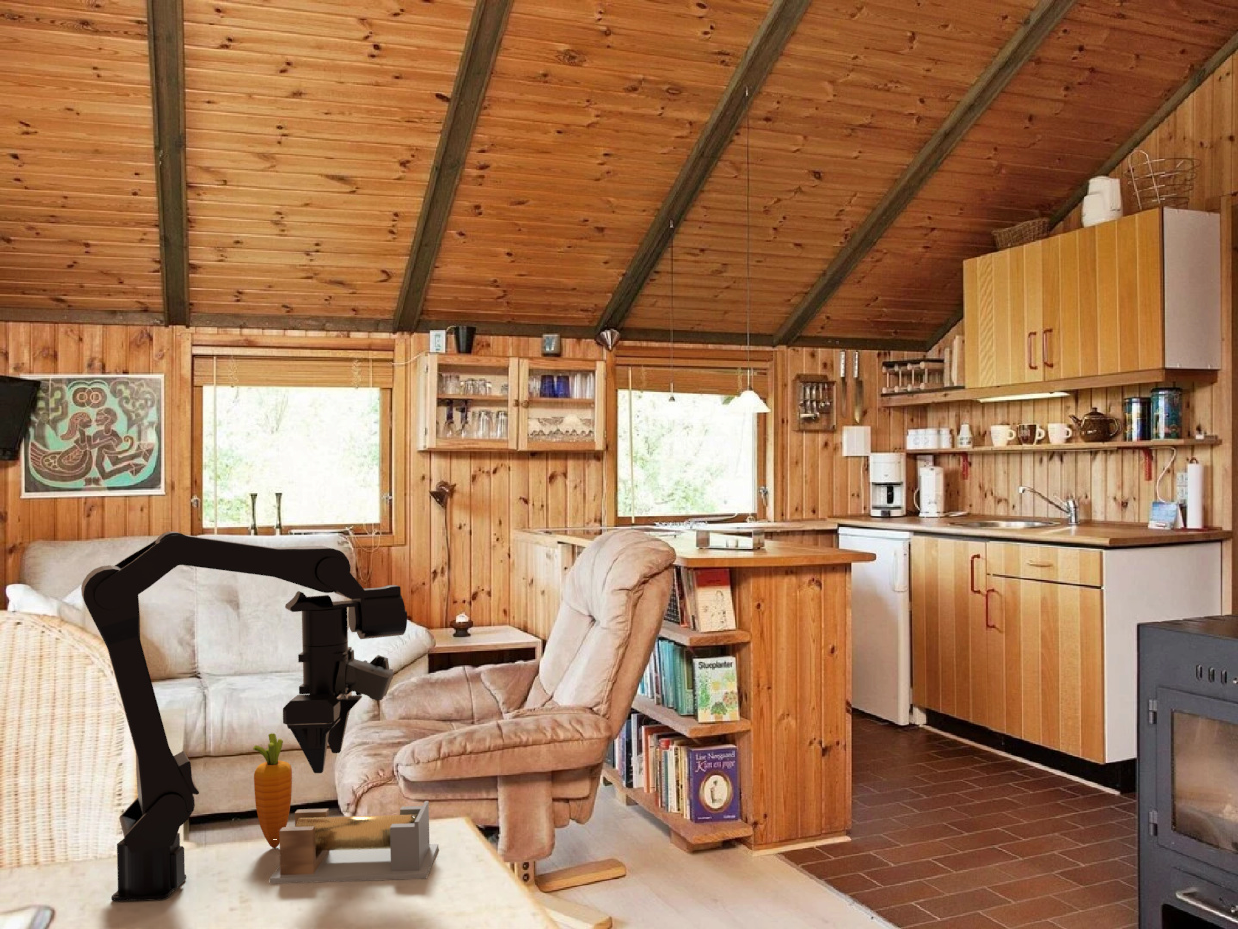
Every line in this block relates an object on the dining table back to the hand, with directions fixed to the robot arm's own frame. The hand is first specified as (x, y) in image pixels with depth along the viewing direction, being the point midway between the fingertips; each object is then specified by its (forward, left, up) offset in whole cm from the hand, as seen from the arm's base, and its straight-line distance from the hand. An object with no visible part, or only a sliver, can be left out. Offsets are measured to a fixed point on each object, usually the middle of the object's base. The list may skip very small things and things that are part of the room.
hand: (327, 762), depth 136 cm
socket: (+11, -4, -12) cm, 17 cm away
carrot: (-8, +3, -12) cm, 15 cm away
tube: (+5, -4, -10) cm, 12 cm away
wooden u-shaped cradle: (-2, -4, -12) cm, 13 cm away
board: (+4, -4, -12) cm, 13 cm away
